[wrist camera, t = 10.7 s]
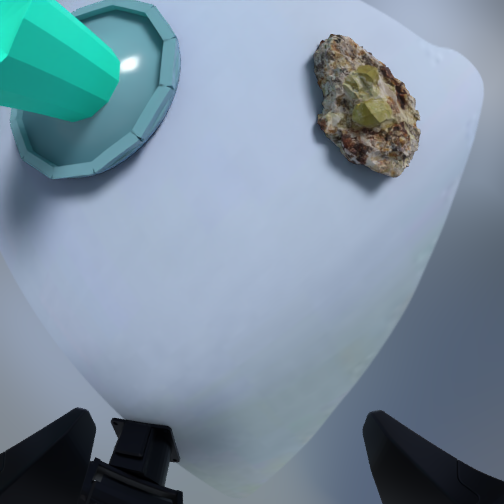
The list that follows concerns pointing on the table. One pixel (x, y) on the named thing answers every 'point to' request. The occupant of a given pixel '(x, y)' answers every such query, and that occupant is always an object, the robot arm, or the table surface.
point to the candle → (53, 62)
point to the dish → (121, 102)
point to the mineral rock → (365, 107)
